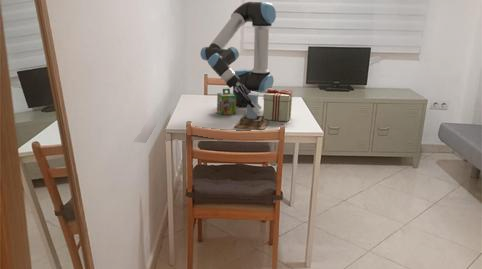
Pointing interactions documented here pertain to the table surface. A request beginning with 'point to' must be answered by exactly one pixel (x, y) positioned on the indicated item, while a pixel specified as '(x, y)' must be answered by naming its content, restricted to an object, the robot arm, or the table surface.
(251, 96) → the block
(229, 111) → the chalk box
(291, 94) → the gift box
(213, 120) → the table surface
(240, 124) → the cradle
